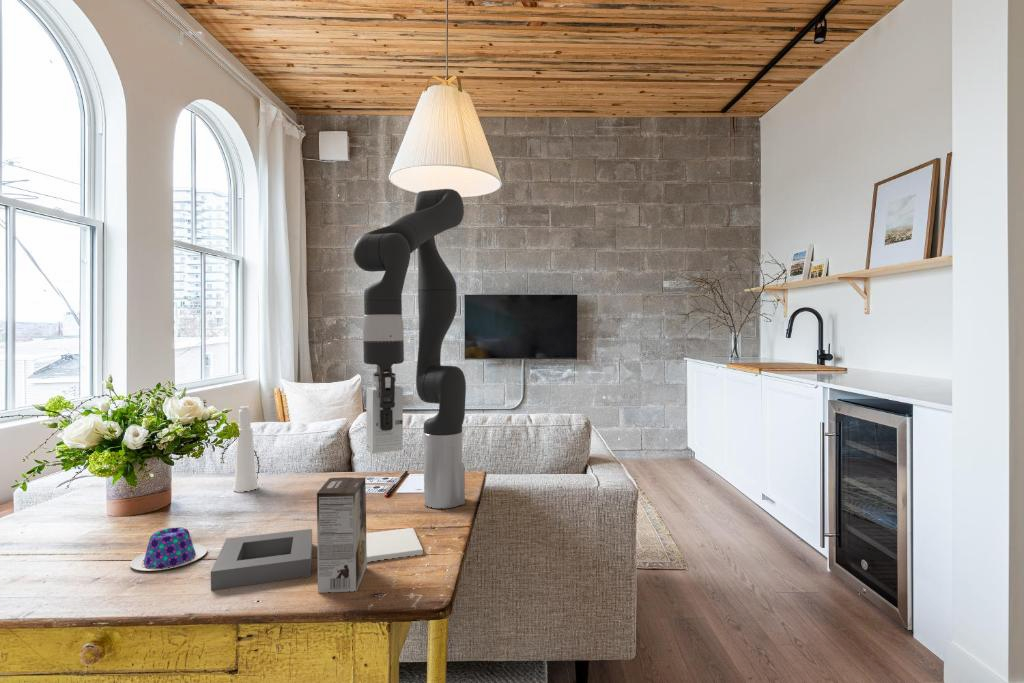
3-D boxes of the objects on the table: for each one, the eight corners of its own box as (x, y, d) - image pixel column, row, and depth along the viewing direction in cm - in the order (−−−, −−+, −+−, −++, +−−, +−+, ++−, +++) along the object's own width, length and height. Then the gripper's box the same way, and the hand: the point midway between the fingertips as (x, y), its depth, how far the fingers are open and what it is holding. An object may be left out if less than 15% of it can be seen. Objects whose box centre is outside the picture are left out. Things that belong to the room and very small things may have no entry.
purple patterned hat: (175, 544, 108) (175, 518, 108) (222, 552, 104) (221, 524, 104) (113, 569, 96) (113, 539, 96) (163, 579, 92) (163, 548, 92)
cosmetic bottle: (262, 488, 146) (261, 405, 145) (241, 493, 141) (240, 408, 140) (249, 484, 149) (248, 404, 149) (228, 490, 144) (226, 407, 144)
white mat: (412, 532, 112) (412, 527, 112) (422, 554, 101) (422, 549, 101) (352, 540, 109) (352, 535, 109) (355, 563, 97) (355, 558, 97)
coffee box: (330, 569, 95) (329, 477, 95) (367, 567, 96) (367, 476, 95) (315, 594, 86) (314, 492, 86) (357, 592, 87) (356, 491, 86)
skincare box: (372, 454, 101) (372, 389, 101) (365, 449, 105) (364, 387, 105) (404, 450, 105) (403, 387, 104) (396, 445, 108) (395, 385, 108)
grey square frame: (312, 544, 107) (312, 528, 107) (310, 576, 92) (310, 558, 92) (226, 554, 102) (226, 538, 102) (210, 590, 88) (210, 571, 87)
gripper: (408, 339, 99) (410, 432, 99) (398, 338, 112) (400, 420, 113) (365, 339, 96) (367, 435, 97) (361, 338, 110) (362, 422, 110)
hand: (385, 427), depth 105 cm, fingers closed on skincare box, 5 cm apart
